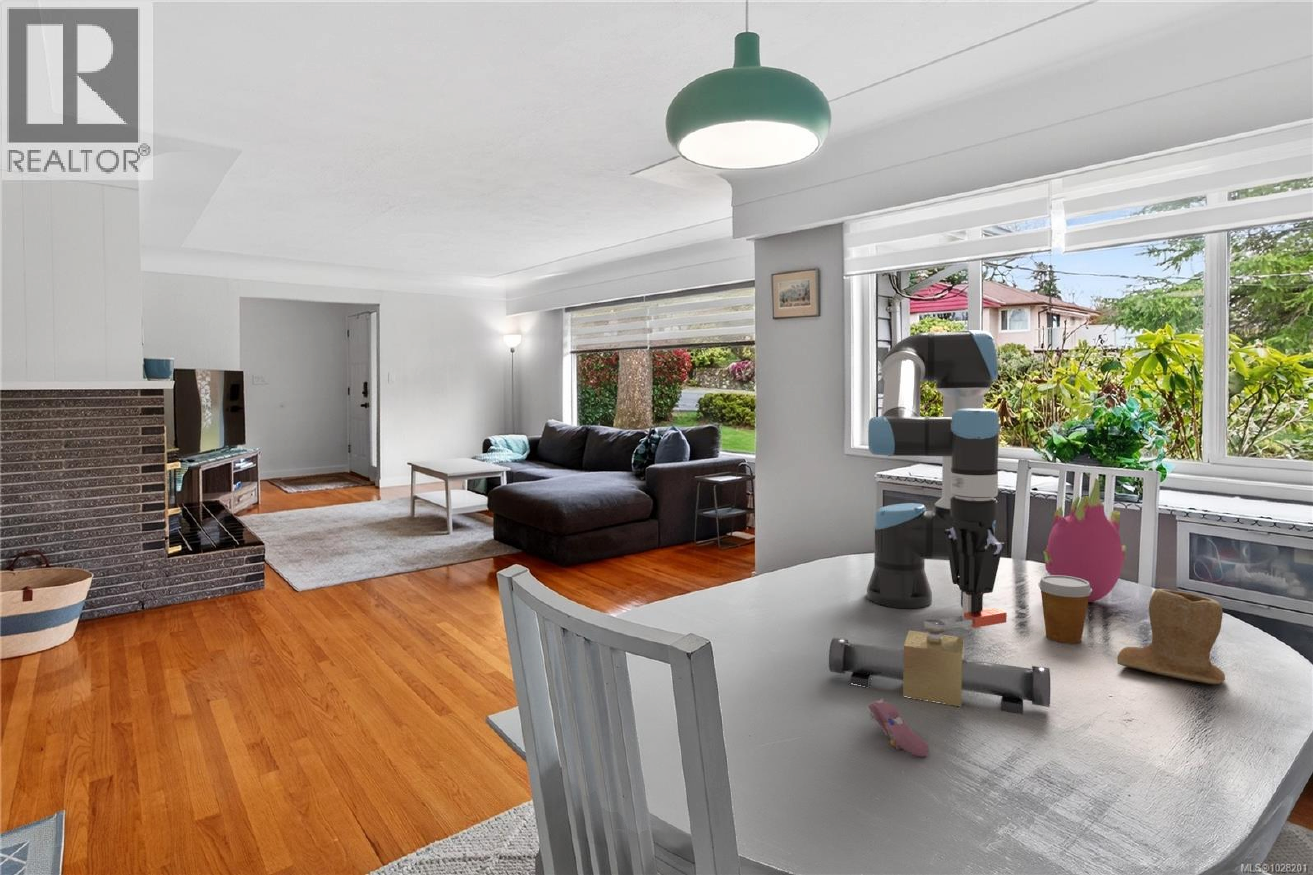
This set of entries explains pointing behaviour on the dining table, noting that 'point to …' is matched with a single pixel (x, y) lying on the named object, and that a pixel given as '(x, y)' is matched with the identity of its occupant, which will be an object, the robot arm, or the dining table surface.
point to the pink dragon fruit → (1087, 545)
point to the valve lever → (967, 620)
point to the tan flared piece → (1179, 638)
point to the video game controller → (897, 728)
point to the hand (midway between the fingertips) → (971, 627)
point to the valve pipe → (940, 671)
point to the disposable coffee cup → (1064, 606)
